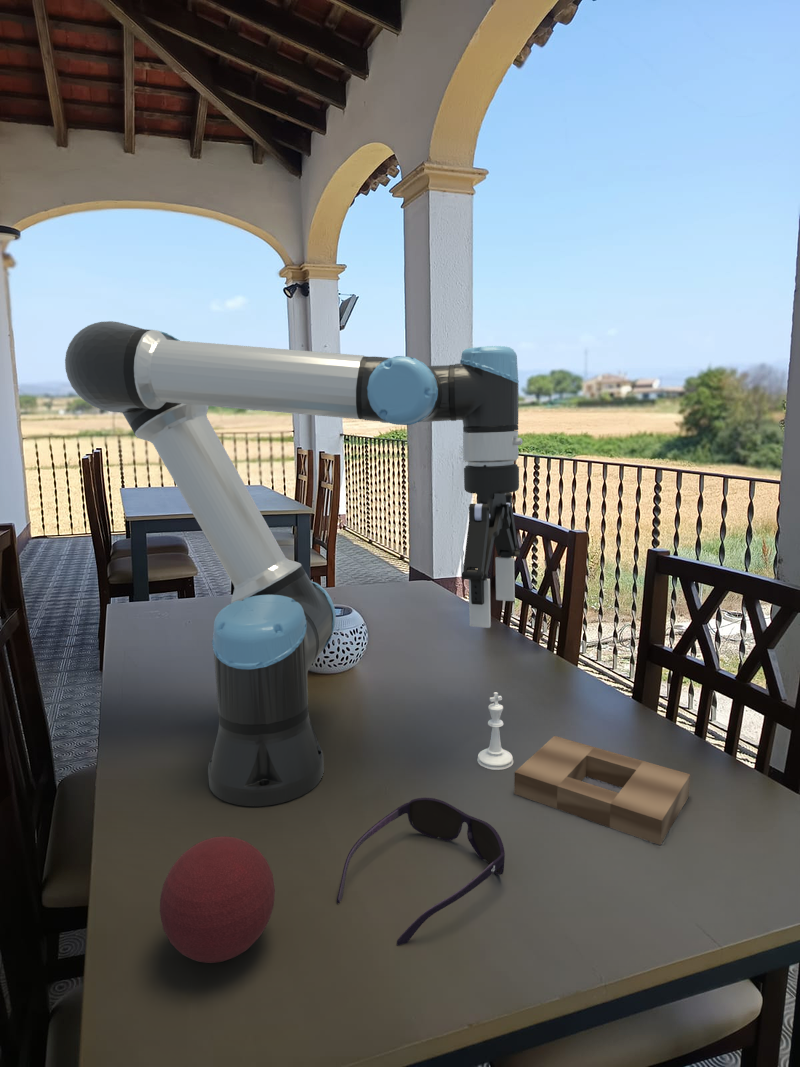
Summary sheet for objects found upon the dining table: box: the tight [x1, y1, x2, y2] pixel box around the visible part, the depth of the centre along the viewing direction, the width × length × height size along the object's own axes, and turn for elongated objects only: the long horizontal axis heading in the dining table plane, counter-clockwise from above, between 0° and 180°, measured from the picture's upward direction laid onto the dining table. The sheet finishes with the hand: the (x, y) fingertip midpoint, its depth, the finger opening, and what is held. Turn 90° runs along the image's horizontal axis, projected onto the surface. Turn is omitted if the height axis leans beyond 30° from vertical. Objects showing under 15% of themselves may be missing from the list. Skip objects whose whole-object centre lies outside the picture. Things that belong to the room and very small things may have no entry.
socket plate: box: [513, 735, 691, 846], centre depth 86 cm, size 12×18×3 cm, turn 53°
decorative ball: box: [159, 835, 276, 964], centre depth 61 cm, size 10×10×10 cm
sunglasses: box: [336, 797, 506, 946], centre depth 70 cm, size 14×16×5 cm
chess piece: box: [476, 691, 514, 771], centre depth 94 cm, size 5×5×10 cm
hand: (493, 612), depth 98 cm, fingers open, 13 cm apart
